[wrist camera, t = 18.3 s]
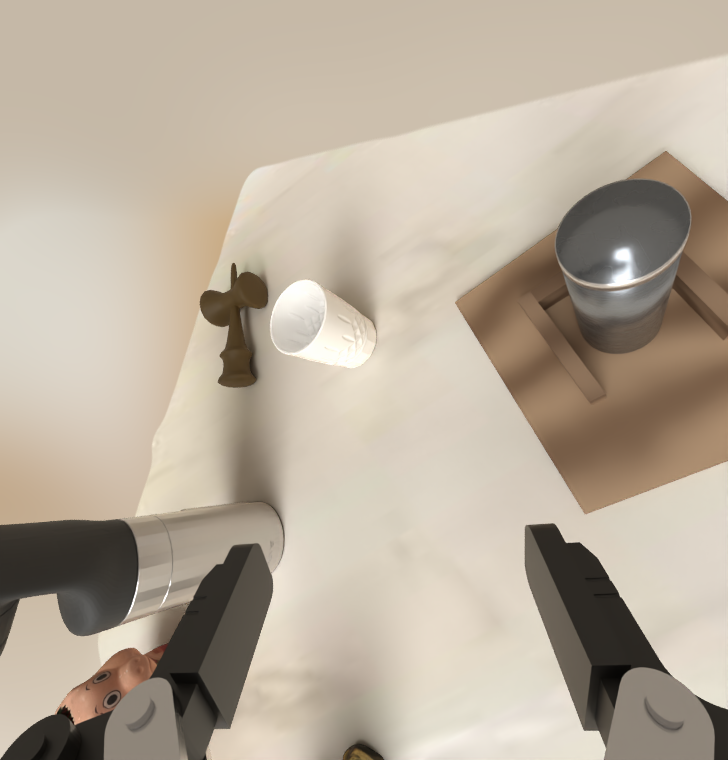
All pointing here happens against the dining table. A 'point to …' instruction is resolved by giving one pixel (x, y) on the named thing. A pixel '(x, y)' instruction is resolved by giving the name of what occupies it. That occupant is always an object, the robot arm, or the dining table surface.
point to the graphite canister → (623, 260)
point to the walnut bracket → (618, 362)
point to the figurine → (361, 753)
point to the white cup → (320, 326)
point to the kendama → (234, 323)
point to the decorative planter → (110, 684)
